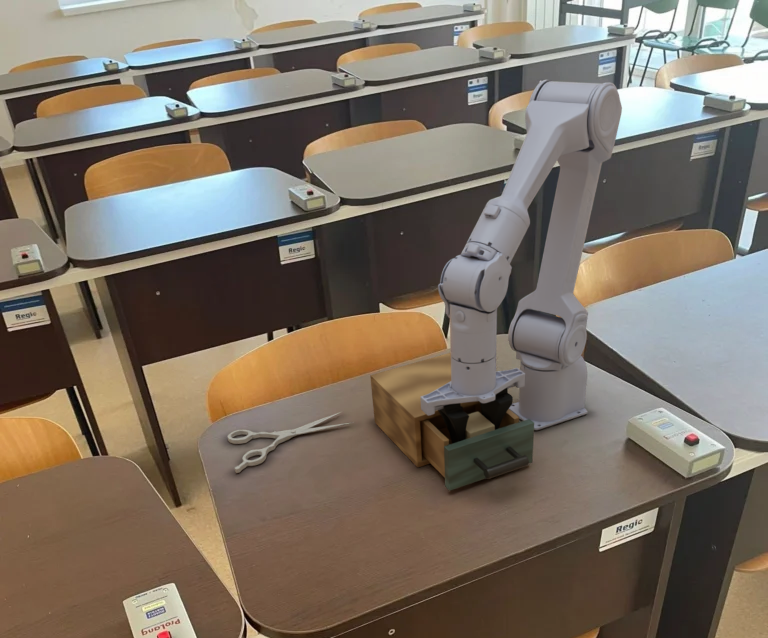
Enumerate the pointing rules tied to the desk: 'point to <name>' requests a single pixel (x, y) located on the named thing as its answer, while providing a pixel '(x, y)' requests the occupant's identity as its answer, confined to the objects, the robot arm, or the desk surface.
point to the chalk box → (477, 425)
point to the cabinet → (408, 401)
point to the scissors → (280, 438)
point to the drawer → (477, 449)
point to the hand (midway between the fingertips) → (473, 444)
